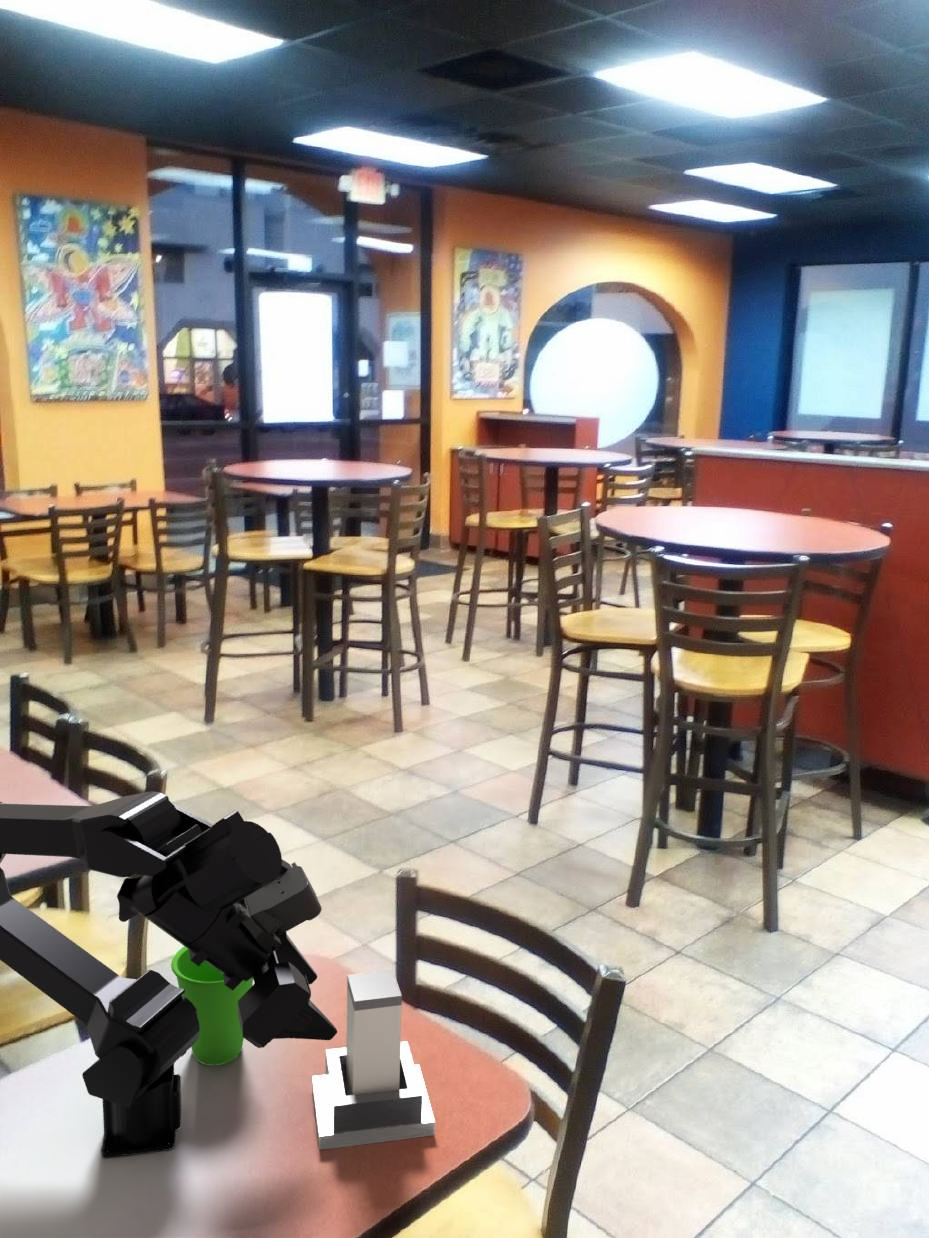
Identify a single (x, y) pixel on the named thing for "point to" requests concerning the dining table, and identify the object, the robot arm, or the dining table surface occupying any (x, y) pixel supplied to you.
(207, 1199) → the dining table surface
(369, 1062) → the plug
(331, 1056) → the socket
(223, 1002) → the cup
